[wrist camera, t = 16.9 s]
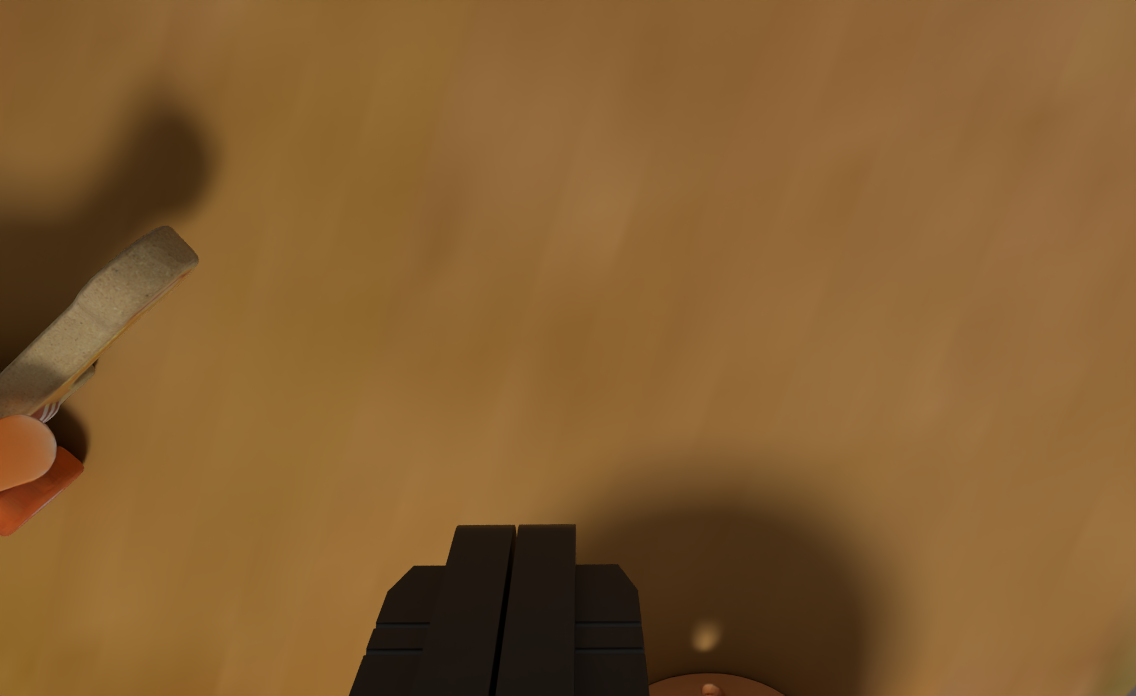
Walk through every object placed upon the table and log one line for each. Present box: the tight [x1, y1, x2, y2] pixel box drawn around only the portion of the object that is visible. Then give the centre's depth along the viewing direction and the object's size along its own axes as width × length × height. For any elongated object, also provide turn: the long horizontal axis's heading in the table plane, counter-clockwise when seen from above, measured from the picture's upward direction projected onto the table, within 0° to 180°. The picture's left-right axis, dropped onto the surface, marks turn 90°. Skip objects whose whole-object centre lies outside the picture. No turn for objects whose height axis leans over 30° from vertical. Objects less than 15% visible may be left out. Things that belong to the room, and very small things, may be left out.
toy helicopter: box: [0, 226, 198, 536], centre depth 34 cm, size 8×21×14 cm, turn 130°
